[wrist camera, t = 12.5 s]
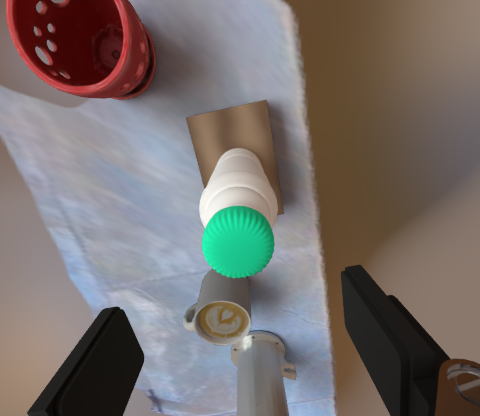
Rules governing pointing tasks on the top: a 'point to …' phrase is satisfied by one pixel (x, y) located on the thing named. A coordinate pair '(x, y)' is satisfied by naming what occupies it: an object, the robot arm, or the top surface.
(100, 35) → the plant pot
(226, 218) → the water bottle
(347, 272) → the robot arm
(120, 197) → the top surface
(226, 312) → the coffee mug
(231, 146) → the walnut stand
